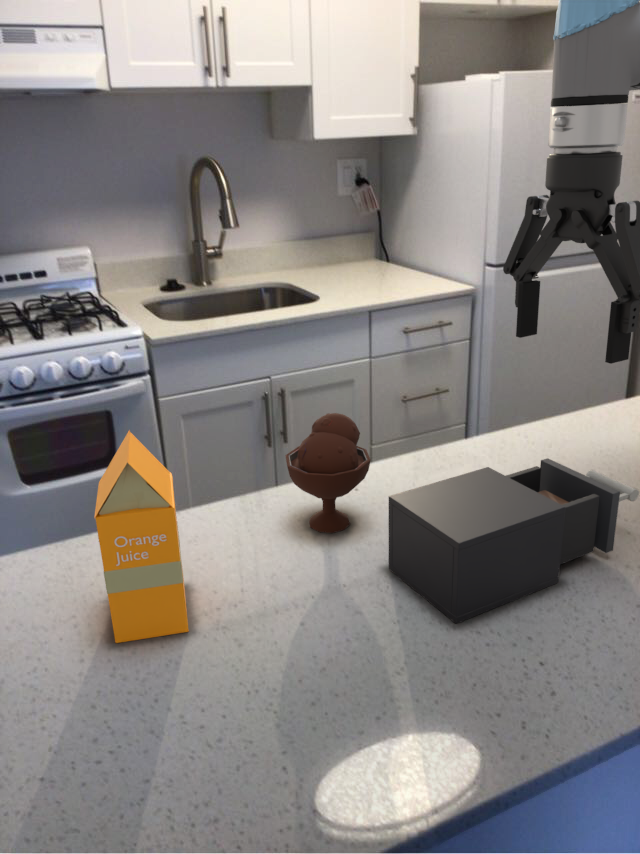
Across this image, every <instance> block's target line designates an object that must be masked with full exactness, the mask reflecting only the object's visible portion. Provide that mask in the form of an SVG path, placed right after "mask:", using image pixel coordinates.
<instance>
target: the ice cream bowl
mask: <svg viewBox="0 0 640 854" xmlns="http://www.w3.org/2000/svg"><path fill="white" fill-rule="evenodd" d="M360 435H361V432H360V429H359V427H358V426H357V424H356V422H354V420H353V419H351V417H349V416H347V415H345V414H343V413H339V412H338V413H337V412H332V413H329V412H327V413H326V414H323V415H322V416H320V417H319V418H317V419H316V420H315V421H314V422H313V423H312V424H311V433H309V435H308V436H307V437H306V438H305V439H304V440H302V441H301V443H300V445H298V446H296V447H295V448H294V449H293V450H291V451H289V452H288V453H286V454H285V456H284V457H285V461H286V468H287V471H288V475H289V477H290V479H291V482H292V483H293V485H295V486H296V487H297V488H299V489H300V490H301V491H302V492H305V493H307V494H309V495H311V496H313V497H315V498H317V499H321V501H322V509H321V510H319V511H317V512H315V513H313V515H311V516H310V517H309V520H308V523H309V528H310V529H312V530H314V531H316V532H318V533H328V534H333V533H339V532H341V531H345V530H346V529H347V528H348V527H349V526H351V522H350V518H349V516H348V514H347V513H345V512H342V511H340V510H339V509H337V508H336V500H337V498H342V497H344V496H346V495H348V494H349V493H350V492H351V491H353V490H354V489H355V488H357V486H359V484H360V483H362V481H364V480H365V478H366V476H367V475H368V472H369V471H370V466H371V460H372V459H371V457H370V455H369V452H368V450H367V448H363V447H361V446H359V445H358V442H359V440H360Z"/></svg>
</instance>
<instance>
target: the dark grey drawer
mask: <svg viewBox="0 0 640 854" xmlns="http://www.w3.org/2000/svg"><path fill="white" fill-rule="evenodd" d="M539 465H540V466H537V465H536V466H532V467H529V468H526V469H523V470H519V471H516V472H512V473H509V474H506V475H505V476H507V477H509V478H511V479H512V480H514V481H516V482H518V483H520V484H522V485H524V486H526V487H528V488H530V489H532V490H534V491H536V492H540V491H543V490H546V491H548V492H550V493H552V494H554V495H556V496H558V497H560V498H562V499H564V500H566V501H568V502H569V503H566V504H563V506H565V517H564V527H563V538H562V549H561V559H560V565H563V564H565V563H567V562H570V561H572V560H575V559H579V558H581V557H583V556H586V555H588V554H591V553H594V551H595V549H597V550H599V551H601V552H603V553H604V554H608V553H610V552H613V551H614V544H615V538H616V537H615V536H616V530H617V529H616V528H617V522H618V521H617V520H618V513H619V506H620V505H619V504H620V502H622V501H625V500H628V501H630V502H635V501H636V500H637V499H638V497H639V495H640V492H639V489H637V488H635V487H634V486H631V485H629V484H626V483H624V482H621V481H619V480H618V479H615V478H612V477H610V476H608V475H607V474H603V473H601V472H599V471H597V470H595V469H589V470H588V471H587V472H586V474H583V473H581V472H579V471H576V470H575V469H572V468H570V467H568V466H566V465H563V464H561V463H559V462H557V461H555V460H552V459H550V458H548V457H547V458H543V459H541V460H540V464H539Z"/></svg>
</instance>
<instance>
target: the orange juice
mask: <svg viewBox="0 0 640 854" xmlns="http://www.w3.org/2000/svg"><path fill="white" fill-rule="evenodd" d="M97 485H98V487H97V493H96V501H95V509H94V518H93V519H94V520H95V524H96V531H97V539H98V543H99V549H100V555H101V562H102V567H103V568H102V569H103V577H104V583H105V588H106V590H105V591H106V594H107V598H108V605H109V611H110V612H109V613H110V618H111V624H112V630H113V636H114V643H115V644H120V643H126V642H132V641H138V640H144V639H151V638H157V637H163V636H164V637H165V636H169V635H176V634H182V633H183V634H184V633H189V632H190V630H189V620H188V619H189V618H188V609H187V608H188V607H187V597H186V596H187V595H186V586H185V577H184V570H183V561H182V553H181V552H182V550H181V541H180V532H179V531H180V530H179V527H180V526H179V524H178V516H177V509H176V502H175V500H176V499H175V492H174V491H175V489H174V478H173V474H172V472H170V471H169V470H168V469H167V467H166V466H164V465H163V463H161V462H160V460H158V459H157V457H155V455H154V454H153V453H152V452H150V450H149V449H148V448H147V447H146V446H145V445H144V444H143V443H142V442H141V441H140V440H139V439H138V438H137V437H136V436H135V435H134V434H133V433H132V432H131V429H129V430H128V432H127V433H126V435H125V436H124V438H123V440H122V442H121V443H120V445H119V447H118V448H117V450H116V452H115V454H114V456H113V457H112V459H111V461H110V462H109V464H108V466H107V468H106V469H105V471H104V473H103V475H102V476H101V478H100V480H99V481H98V484H97Z"/></svg>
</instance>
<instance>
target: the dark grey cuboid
mask: <svg viewBox="0 0 640 854" xmlns="http://www.w3.org/2000/svg"><path fill="white" fill-rule="evenodd" d="M564 517H565V506H563V505H561V504H559V503H557V502H555V501H553V500H551V499H549V498H547V497H545V496H543V495H541V494H539V493H538V492H536V491H534V490H532V489H530V488H528V487H526V486H524V485H522V484H520V483H518V482H516V481H514V480H512V479H511V478H509V477H507V476H506V475H505V474H503V473H501V472H499V471H497V470H496V469H493V468H491V467H490V466H486V467H482V468H479V469H476V470H473V471H470V472H466V473H463V474H458V475H456V476H455V475H454V476H452V477H449V478H445V479H442V480H438V481H435V482H432V483H428V484H425V485H421V486H418V487H414V488H411V489H407V490H404V491H401V492H398V493H395V494H391V495H388V569H389V571H391V572H392V573H393V574H395V575H396V576H397V577H398V578H399V579H401V580H402V581H403V582H404V583H405V584H407V585H408V586H409V587H411V588H412V589H413V590H415V592H417V593H418V594H419V595H420V596H421V597H423V598H424V599H425V600H426V601H428V602H429V603H430V604H431V605H432V606H434V607H435V608H436V609H437V610H439V612H441V614H442V613H443V614H444V615H445V616H446V617H447V618H448V619H450V620H451V621H452V622H453V623H455V624H459V623H461V622H464V621H466V620H468V619H470V618H473V617H476V616H478V615H481V614H483V613H486V612H488V611H490V610H493V609H494V610H495V609H496V608H499V607H501V606H503V605H506V604H508V603H511V602H514V601H516V600H519V599H521V598H523V597H526V596H528V595H530V594H533V593H536V592H538V591H540V590H543V589H545V588H548V587H551V586H553V585H555V584H558V583H559V579H560V571H561V570H560V568H561V564H560V559H561V549H562V538H563V527H564Z"/></svg>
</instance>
